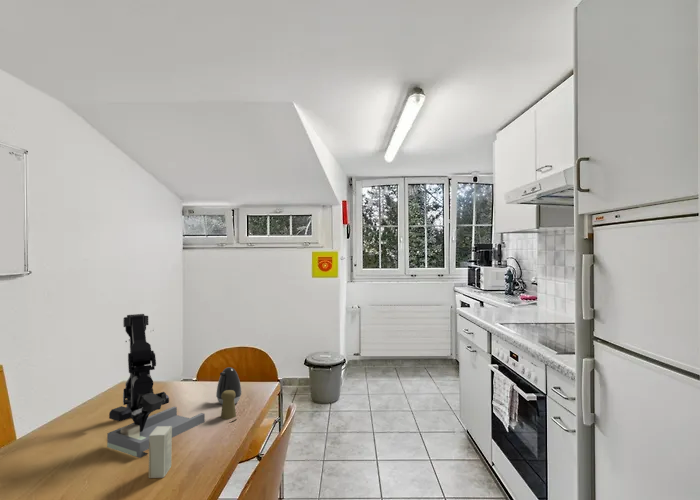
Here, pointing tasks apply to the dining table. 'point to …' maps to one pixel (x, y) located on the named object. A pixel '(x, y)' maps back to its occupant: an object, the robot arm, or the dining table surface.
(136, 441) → the box
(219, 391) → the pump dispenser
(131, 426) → the birch block
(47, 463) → the dining table surface
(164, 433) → the skincare box
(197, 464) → the dining table surface
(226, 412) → the cork
